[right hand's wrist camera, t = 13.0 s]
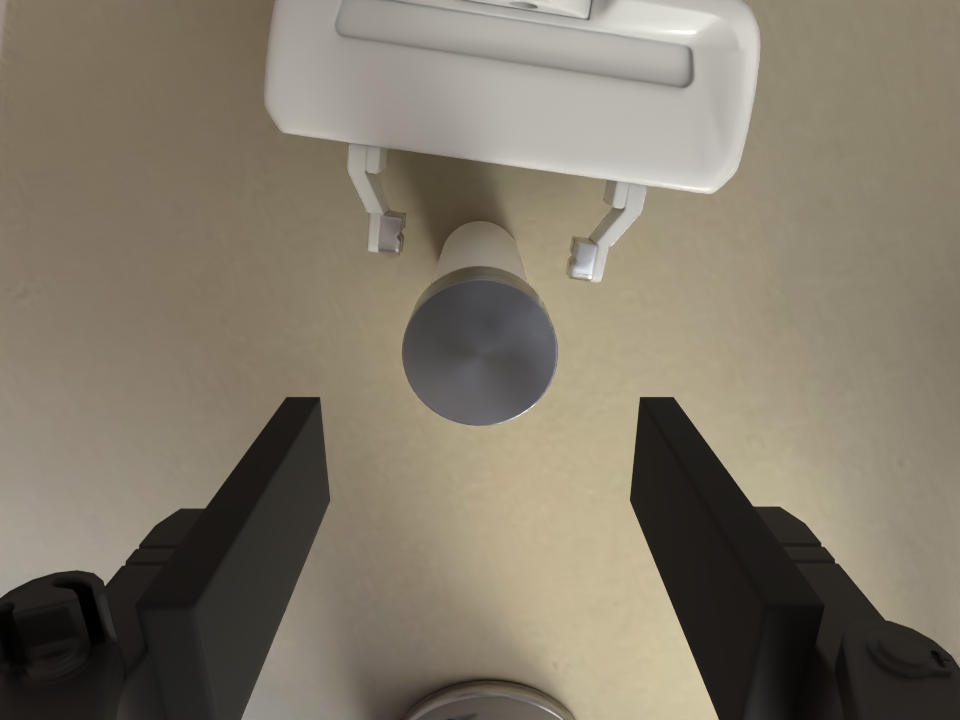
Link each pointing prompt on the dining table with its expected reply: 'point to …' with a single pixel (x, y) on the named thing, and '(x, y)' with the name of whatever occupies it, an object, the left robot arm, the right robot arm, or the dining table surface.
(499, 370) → the lid
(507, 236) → the bottle
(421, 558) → the dining table surface
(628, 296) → the dining table surface
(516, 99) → the left robot arm
